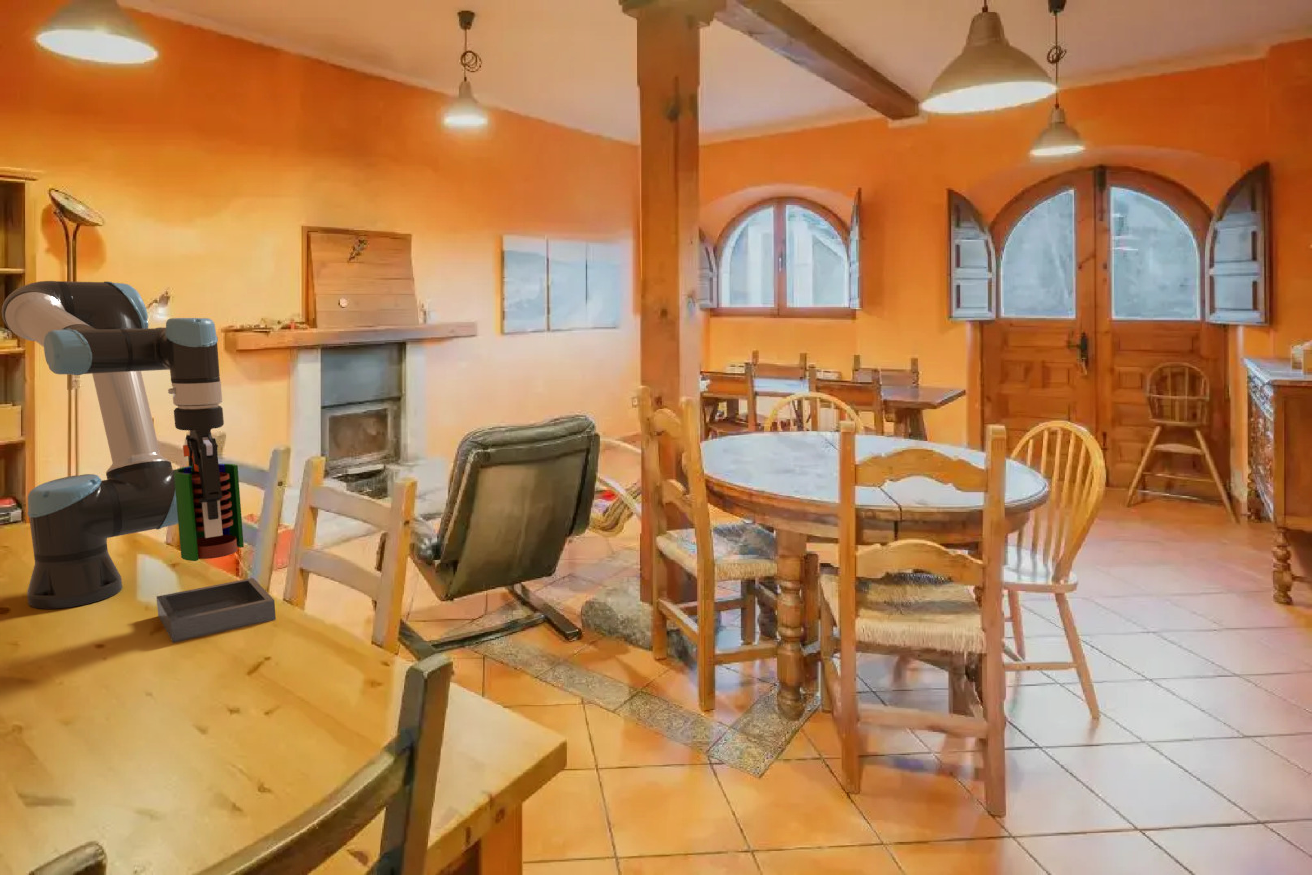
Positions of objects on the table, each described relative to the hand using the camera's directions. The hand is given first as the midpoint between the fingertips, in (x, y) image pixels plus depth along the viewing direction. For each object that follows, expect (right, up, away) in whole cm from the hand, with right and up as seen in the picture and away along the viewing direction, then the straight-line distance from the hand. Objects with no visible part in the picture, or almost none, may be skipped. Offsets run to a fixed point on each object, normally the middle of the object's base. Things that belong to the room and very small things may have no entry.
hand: (209, 531), depth 143 cm
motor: (0, -4, +1) cm, 4 cm away
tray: (0, -16, +3) cm, 17 cm away
